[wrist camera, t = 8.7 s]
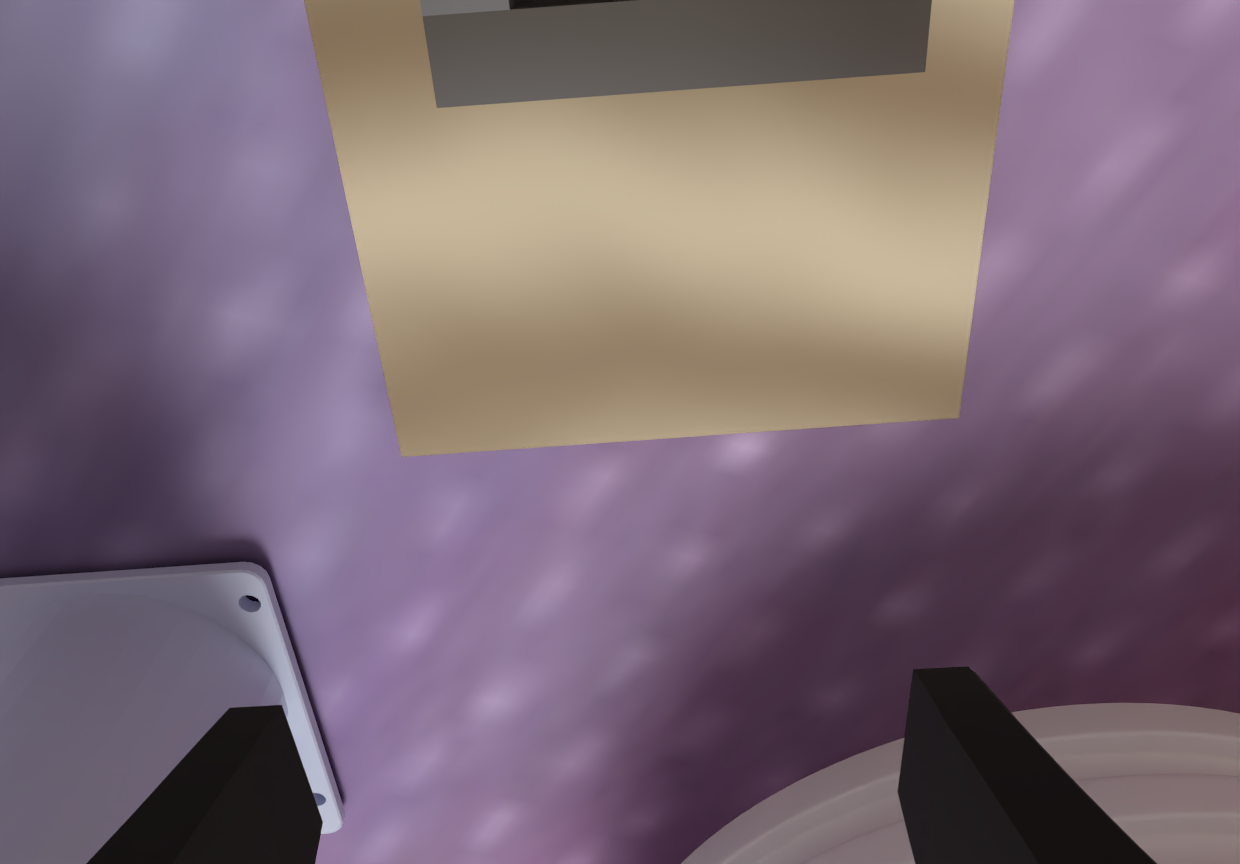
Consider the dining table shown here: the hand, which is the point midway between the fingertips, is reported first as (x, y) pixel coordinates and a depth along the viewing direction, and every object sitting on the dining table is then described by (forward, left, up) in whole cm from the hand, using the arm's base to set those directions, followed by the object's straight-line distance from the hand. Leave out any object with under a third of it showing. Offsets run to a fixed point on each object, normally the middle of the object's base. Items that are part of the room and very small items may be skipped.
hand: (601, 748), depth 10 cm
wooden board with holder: (+6, -2, -10) cm, 12 cm away
